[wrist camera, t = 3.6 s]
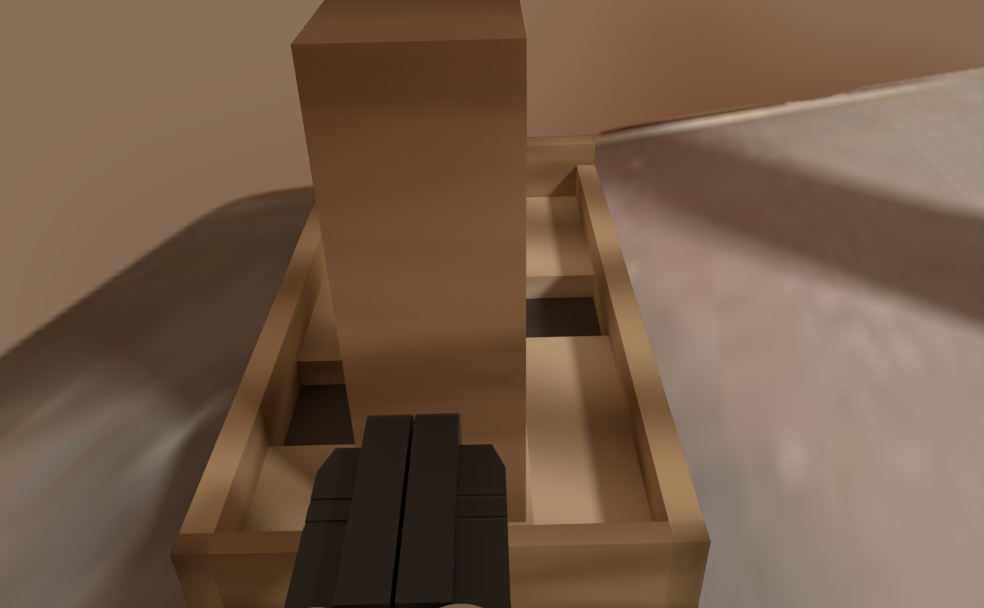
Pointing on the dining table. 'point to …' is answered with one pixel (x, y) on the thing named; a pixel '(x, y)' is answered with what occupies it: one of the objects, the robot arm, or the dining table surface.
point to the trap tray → (549, 427)
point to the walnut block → (424, 209)
